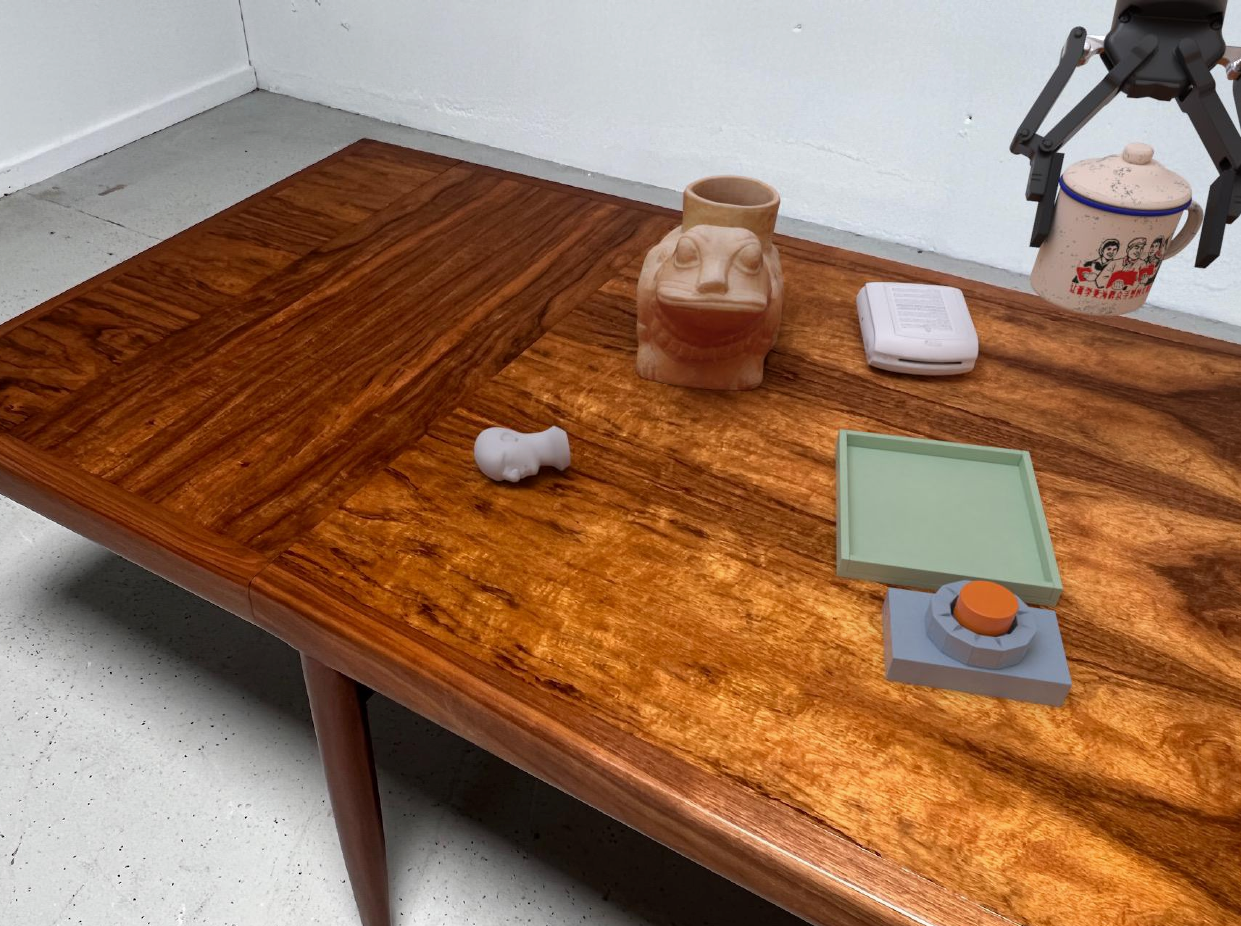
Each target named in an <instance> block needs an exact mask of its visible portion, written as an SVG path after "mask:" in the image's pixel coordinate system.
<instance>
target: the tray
mask: <svg viewBox="0 0 1241 926" xmlns="http://www.w3.org/2000/svg"><path fill="white" fill-rule="evenodd" d="M834 447H835V520H836V521H835V529H836V530H835V535H836V536H835V542H836V546H835V547H836V548H835V549H836V554H835V555H836V577H838V578H844V579H845V578H846V579H853V580H858V581H859V580H860V581H868V582H873V583H874V582H875V583H882V584H889V585H895V586H903V587H910V588H917V589H925V590H931V591H938V590H939V589H940V588H941V587H942V586H943V585H946V584H950V583H954V582H958V581H963V580H969V581H989V582H993V583H996V584H999V585H1001V586H1003V587H1005V588H1007V589H1008V590H1009V591H1011V592H1012V593H1013V594H1015V595H1017V596H1018V597H1019V598H1020V599H1021V600H1022V601H1023V602H1024V603H1025V604H1032V605H1038V606H1045V607H1053V608H1055V607H1056V606H1057V604H1058V602H1059V599H1060V597H1061V595H1062V593H1063V590H1064V587H1063V584H1062V583H1063V582H1062V579H1061V575H1060V574H1061V573H1060V571H1059V566H1058V562H1057V558H1056V554H1055V550H1054V546H1053V543H1052V538H1051V534H1050V529H1049V526H1048V522H1047V518H1046V515H1045V510H1044V506H1043V502H1042V498H1041V495H1040V490H1039V486H1038V483H1037V478H1036V473H1035V470H1034V466H1033V461H1032V457H1031V454H1030V451H1029V450H1021V449H1013V448H1005V447H996V446H995V447H994V446H988V445H978V444H969V443H963V442H952V441H945V440H937V439H936V440H935V439H929V438H928V439H927V438H921V437H920V438H919V437H910V436H901V435H893V434H884V433H876V432H868V431H860V430H859V431H858V430H851V429H850V430H849V429H844V428H843V429H842V428H839V430H838V434H837V438H836V441H835V446H834Z"/></svg>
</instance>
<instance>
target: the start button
mask: <svg viewBox="0 0 1241 926" xmlns="http://www.w3.org/2000/svg"><path fill="white" fill-rule="evenodd" d="M1018 608H1019V604H1018V600H1017V598H1016V597H1015V595H1014V594H1013V593H1012V592H1011V591H1009V590H1008V589H1007V588H1005V587H1003V586H1001V585H999V584H996V583H993V582H989V581H973V582H969V583H967V584H966V585H964V586H963V587H962V589H961V591H960V593H959V596H958V599H957V602H956V604H955V607H954V616H955V619H956V620H957V622H958V623H959V624H960V625H961V626H962V627H964V628H966V629H968V630H970V631H972V632H974V633H976V634H978V635H983V636H990V637H997V636H1001V635H1003V634H1005V633H1007V632H1008V631H1009V630H1010V628H1011V625H1012V623H1013V621H1014V618H1015V616H1016V613H1017V611H1018Z"/></svg>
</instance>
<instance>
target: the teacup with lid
mask: <svg viewBox="0 0 1241 926" xmlns="http://www.w3.org/2000/svg"><path fill="white" fill-rule="evenodd" d="M1154 154H1155V149H1154V147H1153V146H1151V145H1149V144H1147V143H1143V142H1129V143H1128V144H1126V145H1125V146H1124V148H1123V150H1122V152H1121V153H1113V154H1109V155H1106V156H1103V157H1091V158H1086V159H1082V160H1079V161H1076V162H1074V163H1072V164H1070V165H1069V166H1068V167H1067V168H1065V170H1064V171H1063V173H1062V174H1060V179H1059V184H1058V186H1059V190H1058V192H1057V194H1056V199H1055V204H1054V209H1053V214H1052V219H1051V224H1050V228H1049V233H1048V236H1047V237H1046V239H1045V240H1044V242H1043V243H1042V245H1041V246H1040V248H1038V252H1037V255H1036V257H1035V260H1034V264H1033V266H1032V269H1031V273H1030V275H1029V285H1030V286H1031V288H1032V290H1033V291H1034V293H1036V294H1037V295H1038V296H1039V297H1040V298H1041V299H1043V300H1044V301H1046V302H1048V303H1049V304H1051V305H1054V306H1055V307H1057V308H1061V309H1064V310H1067V311H1070V312H1073V313H1078V314H1082V315H1088V316H1097V317H1115V316H1122V315H1126V314H1130V313H1133V312H1136V311H1138V310H1139V309H1141V307H1143V306H1144V305H1145V303H1146V302H1147V299H1148V297H1149V294H1150V292H1151V289H1152V286H1153V285H1154V283H1155V280H1156V278H1157V275H1158V273H1159V270H1160V269H1161V266H1162V264H1163V261H1166V260H1169V259H1171V258H1173V257H1175V256H1177V255H1178V254H1179V253H1181V252H1182V251H1183V250H1184V249H1185V248H1186V247H1187V246H1188V245H1190V243H1191V242H1192V241H1193V239H1194V238H1195V237H1196V236H1197V234H1198V232H1199V231H1200V230H1201V229H1200V228H1202V224H1203V219H1204V214H1205V213H1204V210H1203V208H1202V206H1201V205H1200V204H1199V202H1197V201H1195V200H1194V199H1193V190H1192V187H1191V184H1190V183H1189V182H1188V181H1187V180H1186V178H1184V177H1183V176H1182V175H1180V174H1179V173H1177V172H1175V171H1172V170H1171V169H1168V168H1167V167H1165V166H1164V165H1163V164H1162V163H1161V162H1160V161H1158V160H1156V159H1154V158H1153V157H1154ZM1184 211H1187V218H1186V221H1185V222H1184V224H1183V226H1182V227H1181V229H1180V231H1179V232H1178V233H1177V234H1176V235H1175V233H1176V230H1177V228H1178V225H1179V224H1180V221H1181V219H1182V216H1183V213H1184ZM1174 235H1175V237H1174Z"/></svg>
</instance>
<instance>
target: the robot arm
mask: <svg viewBox="0 0 1241 926" xmlns="http://www.w3.org/2000/svg"><path fill="white" fill-rule="evenodd" d="M1115 2H1116V3H1115V6H1114V12H1113V17H1112V22H1111V26H1110V30H1109V31H1108V33H1106V35H1099V34H1088V31H1087V29H1086V28H1085V27H1084V26H1081V25H1080V26H1079V25H1078V26H1075V27H1073V28H1072V29H1071V30H1070V32H1069V34H1068V36H1067V38H1066V39H1065V42H1064V44H1063V46H1062V49H1061V51H1060V57H1059V62H1058V65H1057V66H1056V68H1055V70H1054V72H1053V73H1052V74H1051V76H1050V78H1049V79H1048V81H1047V82H1046V84H1045V86H1044V88H1043V89H1042V90H1041V92H1040V93H1039V95H1038V97H1037V98H1036V100H1035V101H1034V103H1033V104H1032V106H1031V108H1030V109H1029V110H1028V113H1026V116H1025V118H1024V119H1023V120H1022V122H1021V123H1020V125H1019V127H1018V128H1017V130H1016V132H1015V134H1014V136H1013V138H1012V140H1011V142H1010V145H1009V147H1008V148H1009V151H1010V153H1011V154H1012V155H1015V156H1017V155H1022V156H1024V157H1026V158H1028V159H1029V166H1030V169H1029V173H1028V179H1027V183H1026V189H1025V194H1024V195H1025V201H1027V202H1032V203H1033V202H1035V203H1037V206H1036V211H1035V216H1034V221H1033V225H1032V231H1031V236H1030V241H1029V246H1028V248H1035V249H1040V246H1041V245H1042V243H1043V242H1044V240H1045V239H1046V237H1047V236H1048V233H1049V228H1050V224H1051V219H1052V214H1053V209H1054V204H1055V201H1056V198H1057V195H1058V188H1059V179H1060V177H1061V175H1062V174H1061V173H1062V169H1063V164H1064V159H1065V156H1066V155H1065V152H1059V151H1060V150H1061V149H1062V148H1063V147H1064V146H1065V145H1066V144H1067V143H1068V142H1069V141H1070V140H1071V139H1073V137H1075V136H1076V134H1078V132H1080V130H1081V129H1083V128H1084V127H1085V126H1086V125H1087V124H1088V123H1089V122H1090V121H1091V120H1092V119H1093V118H1094V117H1095V116H1096V115H1097V114H1098V113H1099V112H1100V111H1102V109H1103V108H1104V107H1106V106H1107V105H1109V104H1110V103H1111V102H1112V101H1113V100H1114V99H1115V98H1116V97H1117V96H1118V95H1119V94H1120V93H1123V94H1125V95H1126V98H1127V99H1144V98H1151V99H1153V100H1156V101H1160V102H1169V103H1171V101H1172V100H1173V99H1174V100H1175V102H1176V104H1177V105H1178V108H1179V110H1180V111H1181V112H1182V113H1183V114H1186V115H1187V117H1188V119H1189V120H1190V122H1191V124H1192V126H1193V128H1194V129H1195V131H1196V133H1197V135H1198V137H1199V139H1200V141H1201V143H1202V144H1203V146H1204V148H1205V150H1206V152H1207V154H1208V156H1209V158H1210V160H1211V161H1212V163H1213V165H1214V167H1215V169H1216V171H1217V172H1218V175H1219V176H1217V177H1216V178H1215V179H1214V181H1213V182H1212V183H1211V184H1209V189H1208V195H1207V199H1206V205H1205V209H1204V213H1203V214H1204V216H1203V221H1202V224H1201V229H1200V234H1199V241H1198V246H1197V251H1196V255H1195V261H1194V266H1193V268H1195V269H1207V268H1208V267H1209V266H1210V265H1211V264H1212V263H1214V262H1215V261H1216V260H1217V259H1218V258H1219V257H1220V256H1221V251H1222V247H1223V242H1224V241H1223V240H1224V235H1225V232H1226V231H1225V230H1226V227H1227V225H1232V224H1233V223H1234V222H1235V221H1237V219H1239V218H1240V216H1241V135H1240V134H1241V133H1239V130H1238V129H1237V127H1236V125H1235V123H1234V121H1233V119H1232V118H1231V116H1230V114H1229V112H1228V111H1227V109H1226V107H1225V105H1224V103H1223V101H1222V99H1221V97H1220V96H1219V94H1218V91H1217V89H1216V88H1217V82H1216V80H1215V78H1214V76H1213V74H1212V73H1211V71H1212V70H1213V69H1215V67H1216V66H1219V65H1220V66H1222V67H1224V69H1225V74H1226V79H1227V80H1228V81H1232V97H1233V101H1234V105H1235V110H1236V116H1237V120H1238V124H1239V129H1240V130H1241V46H1235V45H1227V44H1226V41H1225V39H1224V37H1223V26H1224V22H1225V17H1226V11H1227V7H1228V2H1229V0H1116V1H1115ZM1095 55H1096V56H1097V55H1099V59H1100V60H1101V61H1102V63H1103V65H1104V67H1105V68H1106V70H1107V74H1105V76H1104V77H1103V79H1102V80H1100V82H1099V83H1097V84H1096V86H1094V88H1092V89H1091V90H1090V91H1089V92H1088V94H1086V95H1085V96H1084V97H1083V98H1082V99H1080V101H1079V102H1078V103H1077V104H1076V105H1075V106H1074V107H1073V108H1072V109H1071V110H1070V111H1069V112H1068V113H1067V114H1066V115H1065V116H1064V117H1063V118H1062V119H1060V121H1059V122H1057V124H1055V125H1054V126H1053V128H1051V129H1050V130H1049V131H1048V132H1047V133H1045V135H1044V136H1043V135H1040V134H1038V133H1037V132H1038V130H1039V129H1040V127H1041V126H1042V125H1043V123H1044V121H1045V120H1046V118H1047V116H1048V115H1049V113H1050V112H1051V110H1052V108H1053V107H1054V106H1055V104H1056V102H1057V101H1058V99H1059V98H1060V96H1061V94H1062V93H1063V91H1064V90H1065V88H1066V86H1067V85H1068V83H1069V82H1070V80H1071V79H1072V76H1073V75H1074V73H1075V71H1076V68H1081V67H1082V66H1086V65H1087V64H1088V63H1089V61H1090V59H1091V58H1092V57H1093V56H1095Z"/></svg>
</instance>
